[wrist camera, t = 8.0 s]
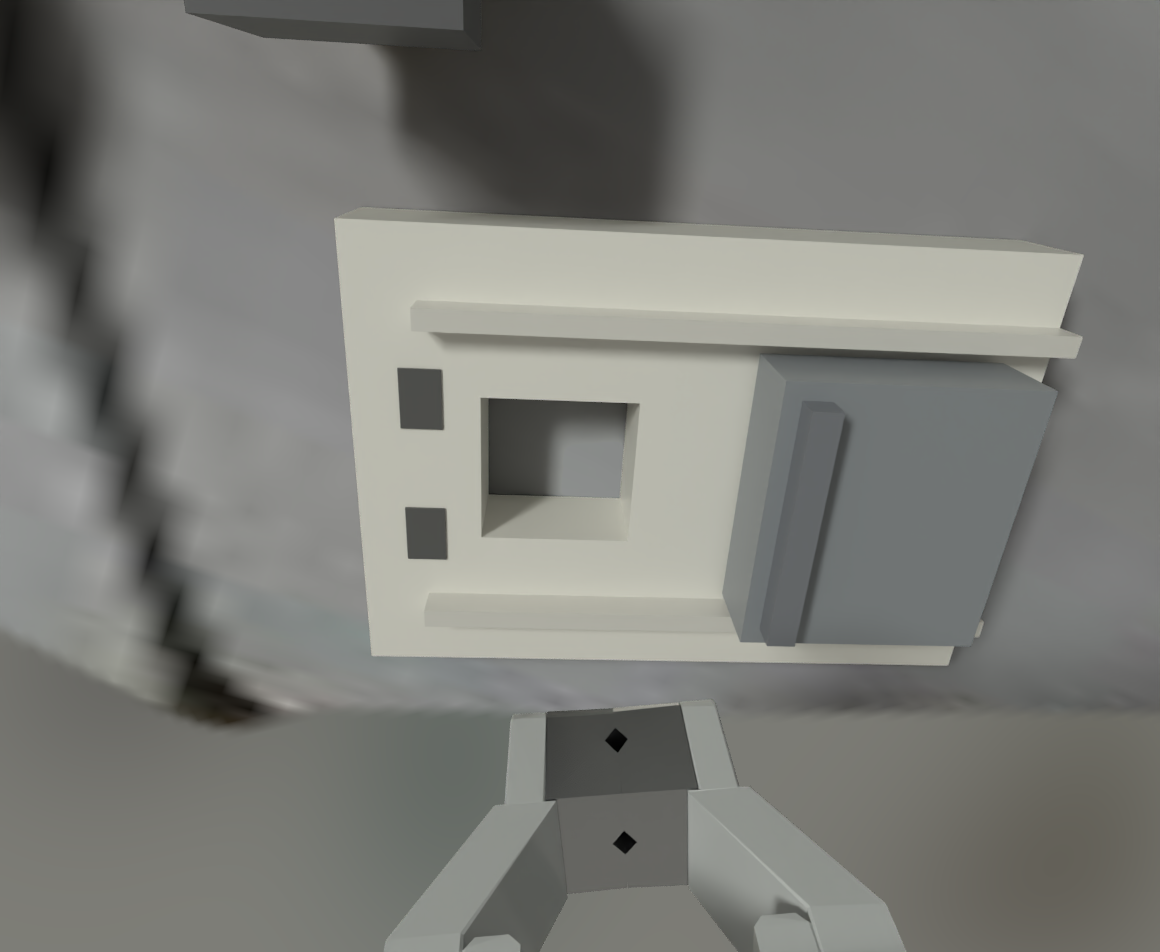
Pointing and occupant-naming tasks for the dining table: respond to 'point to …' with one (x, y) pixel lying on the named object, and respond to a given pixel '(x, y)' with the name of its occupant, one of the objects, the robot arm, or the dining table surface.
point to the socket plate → (654, 411)
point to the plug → (352, 20)
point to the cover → (878, 497)
